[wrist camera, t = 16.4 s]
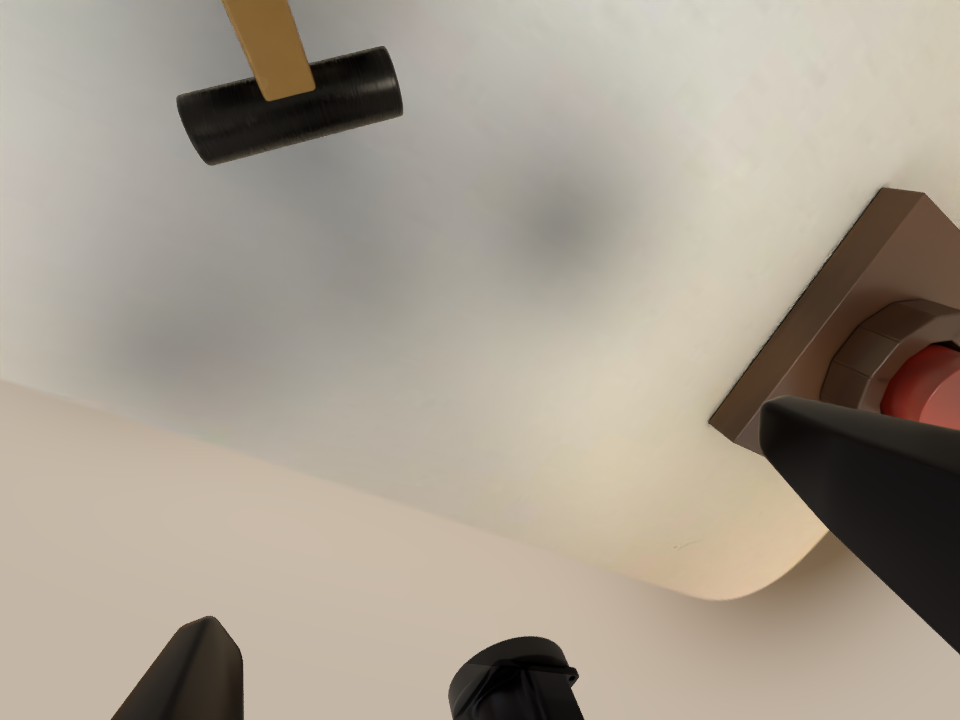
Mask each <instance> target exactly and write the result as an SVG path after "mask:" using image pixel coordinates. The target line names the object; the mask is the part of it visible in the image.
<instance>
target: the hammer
mask: <svg viewBox="0 0 960 720" xmlns="http://www.w3.org/2000/svg"><path fill="white" fill-rule="evenodd" d="M221 1H222V3H223V5H224V8H225V10H226V12H227V15H228V17H229V19H230V22H231V24H232V26H233V28H234V31H235V33H236V35H237V38H238V40H239V42H240V44H241V47H242V49H243V51H244V54H245V56H246V58H247V61H248V63H249V65H250V67H251V70H252V72H253V74H254V77H251V78H247V79H243V80H239V81H235V82H231V83H226V84H222V85H218V86H214V87H210V88H206V89H202V90H197V91H193V92H189V93H185V94H181V95H179V96H177V107H178V112H179V115H180V118H181V121H182V123H183V126H184V128H185V130H186V132H187V135H188V137H189V139H190V141H191V143H192V144H193V146H194V148H195V150H196V151H197V153H198V154H199V156H200V157H201V158H202V160H203V161H204V162H205V163H206V164H207V165H209V166H213V165H217V164H221V163H225V162H229V161H232V160H236V159H240V158H244V157H248V156H251V155H255V154H259V153H263V152H267V151H270V150H274V149H278V148H282V147H286V146H289V145H293V144H297V143H301V142H305V141H308V140H312V139H316V138H320V137H324V136H328V135H331V134H335V133H339V132H343V131H347V130H350V129H354V128H358V127H362V126H366V125H369V124H373V123H377V122H381V121H385V120H388V119H392V118H396V117H400V116H402V115H403V103H402V97H401V92H400V88H399V84H398V80H397V76H396V73H395V69H394V66H393V63H392V60H391V58H390V55H389V53H388V51H387V49H386V48H385V47H384V46H379V47H375V48H371V49H367V50H363V51H359V52H354V53H350V54H346V55H342V56H338V57H334V58H330V59H326V60H321V61H317V62H313V63H308V60H307V57H306V54H305V51H304V48H303V45H302V42H301V39H300V36H299V33H298V30H297V27H296V24H295V21H294V18H293V15H292V12H291V9H290V6H289V3H288V0H221Z"/></svg>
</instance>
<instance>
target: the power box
mask: <svg viewBox="0 0 960 720" xmlns="http://www.w3.org/2000/svg"><path fill="white" fill-rule="evenodd" d="M928 345H941V346H944V347H947V348H949V349H952V350H955V351H957V352H960V230H959V229H958V228H957V227H956V226H955V225H954V224H953V222H952V221H951V220H950V219H949V218H948V217H947V216H946V215H945V214H944V213H943V212H942V211H941V210H940V209H939V208H938V207H937V206H936V205H935V204H934V202H933V201H932V200H931V199H930V198H929V197H928V196H927V195H926V194H925V193H922V192H914V191H906V190H899V189H891V188H882V189H881V190H880V192H879V193H878V194H877V196H876V197H875V198H874V200H873V201H872V202H871V204H870V205H869V207H868V208H867V209H866V211H865V212H864V213H863V215H862V216H861V217H860V219H859V220H858V221H857V223H856V224H855V225H854V227H853V228H852V229H851V231H850V232H849V234H848V235H847V236H846V238H845V239H844V240H843V242H842V243H841V244H840V246H839V247H838V248H837V250H836V251H835V252H834V254H833V255H832V256H831V258H830V259H829V261H828V262H827V263H826V265H825V266H824V267H823V269H822V270H821V271H820V273H819V274H818V275H817V277H816V278H815V279H814V281H813V282H812V283H811V285H810V286H809V288H808V289H807V290H806V292H805V293H804V294H803V296H802V297H801V298H800V300H799V301H798V302H797V304H796V305H795V306H794V308H793V309H792V310H791V312H790V313H789V315H788V316H787V317H786V319H785V320H784V321H783V323H782V324H781V325H780V327H779V328H778V329H777V331H776V332H775V333H774V335H773V336H772V337H771V339H770V340H769V341H768V343H767V344H766V346H765V347H764V348H763V350H762V351H761V352H760V354H759V355H758V356H757V358H756V359H755V360H754V362H753V363H752V364H751V366H750V367H749V368H748V370H747V371H746V373H745V374H744V375H743V377H742V378H741V379H740V381H739V382H738V383H737V385H736V386H735V387H734V389H733V390H732V391H731V393H730V394H729V395H728V397H727V398H726V400H725V401H724V402H723V404H722V405H721V406H720V408H719V409H718V410H717V412H716V413H715V414H714V416H713V417H712V418H711V420H710V421H709V424H711V425H712V426H713V427H714V428H716V429H717V430H718V431H719V432H721V433H722V434H723V435H724V436H725V437H727V438H728V439H729V440H730V441H732V442H733V443H735V444H738V445H740V446H742V447H744V448H746V449H749V450H751V451H753V452H755V453H758V454H760V455H762V456H764V455H763V453H762V452H761V450H760V447H759V444H758V426H759V409H760V407H761V405H762V404H763V403H764V402H766V401H768V400H771V399H774V398H776V397H779V396H782V395H790V396H795V397H800V398H805V399H810V400H815V401H820V402H825V403H829V404H834V405H839V406H844V407H849V408H854V409H859V410H864V411H869V412H873V413H878V414H882V412H881V410H880V403H881V400H882V398H883V395H884V393H885V390H886V388H887V385H888V383H889V381H890V379H891V378H892V377H893V376H894V375H895V373H896V372H897V371H898V370H899V369H900V367H901V366H902V365H903V364H904V363H905V361H906V360H907V359H908V358H910V357H911V356H913V355H914V354H916V353H917V352H919V351H920V350H922V349H924V348H925V347H927V346H928ZM764 457H765V456H764Z"/></svg>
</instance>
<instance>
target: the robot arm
mask: <svg viewBox="0 0 960 720" xmlns="http://www.w3.org/2000/svg"><path fill="white" fill-rule="evenodd" d="M758 444H759V447H760V450H761V452H762V453H763V455H764V456H765V457H766V459H767V460H768V461H769V462H770V463H771V464H772V465H773V467H774V468H775V469H776V470H777V471H778V472H779V473H780V475H781V476H782V477H783V478H784V479H785V480H786V481H787V483H788V484H789V485H790V486H791V487H792V488H793V489H794V491H795V492H796V493H797V494H798V495H799V496H800V497H801V499H802V500H803V501H804V502H805V503H806V504H807V506H808V507H809V508H810V509H811V510H812V511H813V512H814V514H815V515H816V516H817V517H818V518H819V519H820V520H821V521H822V522H823V523H824V525H825V526H826V527H827V528H828V529H829V530H830V531H831V532H832V533H833V534H834V535H835V536H836V537H837V538H838V539H839V540H841V542H842V543H843V544H844V545H845V546H846V547H848V548H849V549H850V550H851V551H852V552H853V553H854V554H855V555H856V556H857V557H858V558H859V559H860V560H861V561H862V562H863V563H864V564H865V565H866V566H867V567H869V568H870V569H871V570H872V571H873V572H874V573H875V574H876V575H877V576H878V577H879V578H880V579H881V580H882V581H883V582H884V583H885V584H886V585H888V587H889V588H891V589H892V590H893V591H894V592H895V593H896V594H897V595H898V596H899V597H900V598H901V599H902V600H903V601H904V602H905V603H906V604H907V605H909V607H910V608H911V609H913V610H914V611H915V612H916V613H917V614H918V615H919V616H920V617H921V618H922V619H923V620H924V621H925V622H926V623H927V624H928V625H929V626H930V627H931V628H932V629H933V630H935V631H936V632H937V633H938V634H939V635H940V636H941V637H942V638H943V639H944V640H945V641H946V642H947V643H948V644H949V645H950V646H951V647H952V648H953V649H954V650H956V651H957V652H958V653H959V654H960V430H957V429H952V428H947V427H942V426H937V425H932V424H927V423H922V422H918V421H913V420H908V419H903V418H898V417H893V416H888V415H883V414H878V413H873V412H869V411H864V410H859V409H854V408H849V407H844V406H839V405H834V404H829V403H825V402H820V401H815V400H810V399H805V398H800V397H795V396H790V395H782V396H779V397H776V398H774V399H771V400H768V401H766V402H764V403H763V404H762V405H761V407H760V409H759V426H758ZM578 678H579V674H578V672H577V670H576V668H574V667H567V666H559V665H551V664H542V663H534V662H526V661H517V660H509V659H500V660H497V661H496V662H494V663H493V665H492V666H491V668H490V669H489V670H488V672H487V673H486V675H485V676H484V677H483V679H482V680H481V682H480V683H479V684H478V686H477V687H476V689H475V690H474V691H473V693H472V694H471V696H470V697H469V698H468V700H467V701H466V703H465V704H464V705H463V707H462V708H461V710H460V711H459V712H458V714H457V715H456V717H455V718H454V719H453V720H584V718H583V715H582V713H581V711H580V708H579V706H578V704H577V701H576V699H575V697H574V694H573V692H572V690H571V687H572V686H573V684H574V683H575V682H576V681H577V679H578ZM243 699H244V693H243V660H242V655H241V652H240V649H239V648H238V646H237V645H236V643H235V642H234V641H233V639H232V638H231V637H230V635H229V634H228V633H227V631H226V630H225V629H224V627H223V626H222V625H221V623H220V622H219V621H218V620H217V619H216V618H215V617H213V616H206V617H203V618H201V619H198V620H196V621H193V622H190V623H188V624H185V625H184V626H182V627H181V628H179V630H178V631H177V632H176V633H175V634H174V636H173V637H172V638H171V640H170V641H169V642H168V644H167V645H166V646H165V648H164V649H163V650H162V652H161V653H160V654H159V656H158V657H157V658H156V660H155V661H154V662H153V664H152V665H151V666H150V668H149V669H148V670H147V672H146V673H145V675H144V676H143V677H142V678H141V680H140V681H139V682H138V684H137V685H136V687H135V688H134V689H133V690H132V692H131V693H130V695H129V696H128V697H127V699H126V700H125V701H124V703H123V704H122V705H121V707H120V708H119V709H118V711H117V712H116V713H115V715H114V716H113V717H112V719H111V720H244V700H243Z"/></svg>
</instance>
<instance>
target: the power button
mask: <svg viewBox="0 0 960 720" xmlns="http://www.w3.org/2000/svg"><path fill="white" fill-rule="evenodd" d="M880 410H881V412H882V414H883V415H888V416H893V417H898V418H903V419H908V420H913V421H918V422H922V423H927V424H932V425H937V426H942V427H947V428H952V429H957V430H960V352H957V351H955V350H952V349H949V348H947V347H944V346H941V345H928V346H927V347H925V348H924V349H922V350H920V351H919V352H917V353H916V354H914V355H913V356H911V357H910V358H908V359H907V360H906V361H905V363H904V364H903V365H902V366H901V367H900V369H899V370H898V371H897V372H896V373H895V375H894V376H893V377H892V378H891V379H890V381H889V383H888V385H887V388H886V390H885V393H884V395H883V398H882V400H881V403H880Z"/></svg>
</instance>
